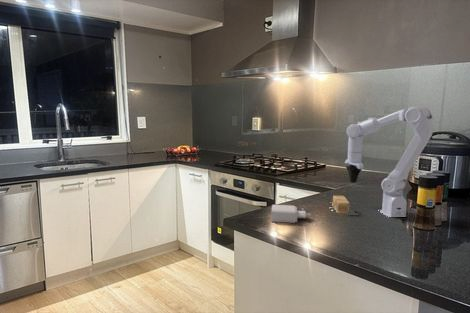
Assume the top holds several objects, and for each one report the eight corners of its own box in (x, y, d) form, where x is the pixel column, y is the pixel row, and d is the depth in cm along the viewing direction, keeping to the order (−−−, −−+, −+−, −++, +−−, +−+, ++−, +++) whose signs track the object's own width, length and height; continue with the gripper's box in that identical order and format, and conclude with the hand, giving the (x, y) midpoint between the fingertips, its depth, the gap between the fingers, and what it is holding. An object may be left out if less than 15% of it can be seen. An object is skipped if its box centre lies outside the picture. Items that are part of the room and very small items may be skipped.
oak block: (342, 205, 140) (348, 212, 133) (332, 205, 139) (337, 213, 133) (343, 195, 138) (349, 202, 132) (333, 195, 138) (338, 202, 131)
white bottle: (311, 224, 121) (271, 222, 123) (309, 217, 130) (271, 215, 132) (312, 212, 120) (271, 210, 122) (310, 205, 129) (272, 203, 131)
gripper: (339, 149, 149) (338, 178, 151) (352, 154, 135) (350, 186, 137) (355, 149, 150) (353, 178, 151) (369, 154, 135) (367, 186, 137)
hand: (353, 182), depth 144 cm, fingers closed
